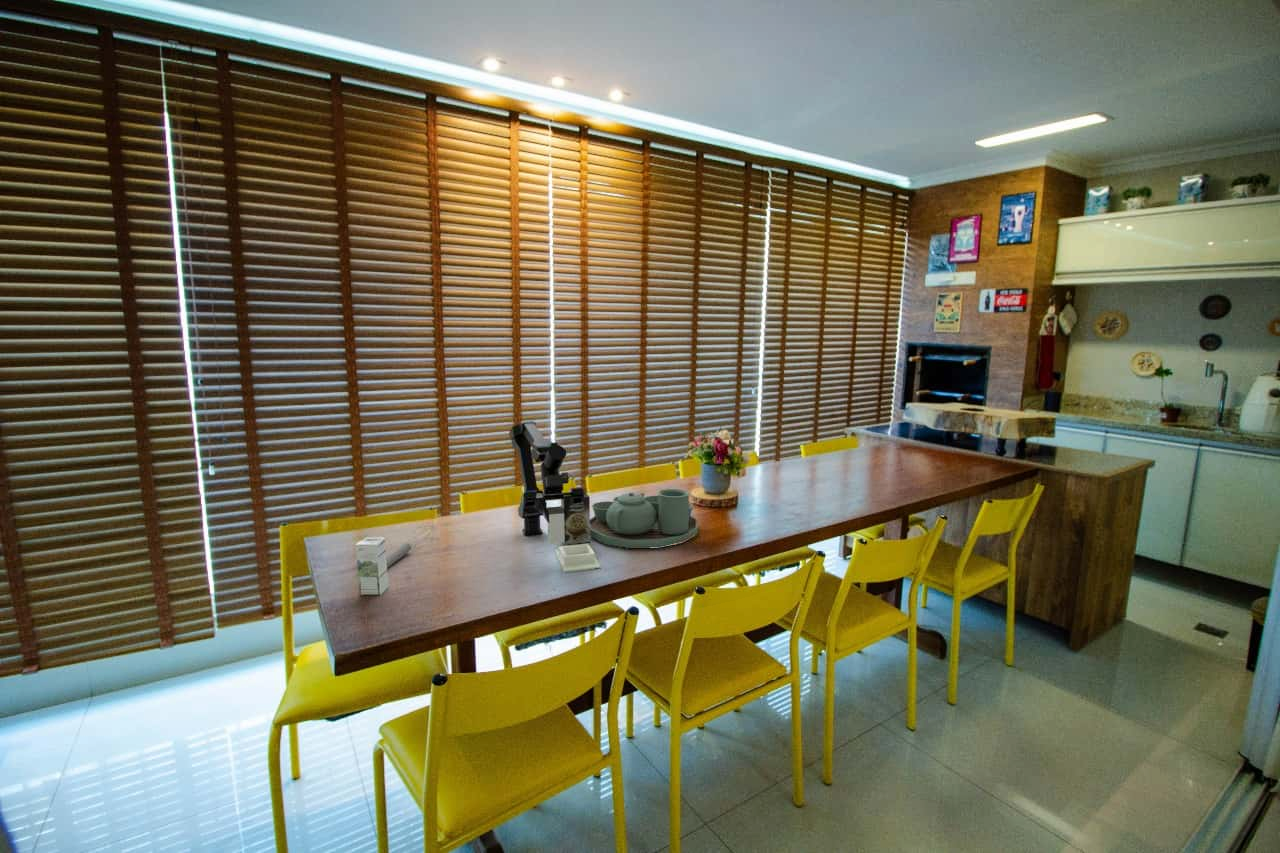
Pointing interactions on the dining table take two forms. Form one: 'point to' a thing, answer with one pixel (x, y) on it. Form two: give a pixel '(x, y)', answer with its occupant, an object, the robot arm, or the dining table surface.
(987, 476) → the dining table surface
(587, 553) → the collar holder
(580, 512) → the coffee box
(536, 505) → the robot arm
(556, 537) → the grey tall block
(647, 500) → the tea set
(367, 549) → the syrup box
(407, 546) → the kitchen whisk
